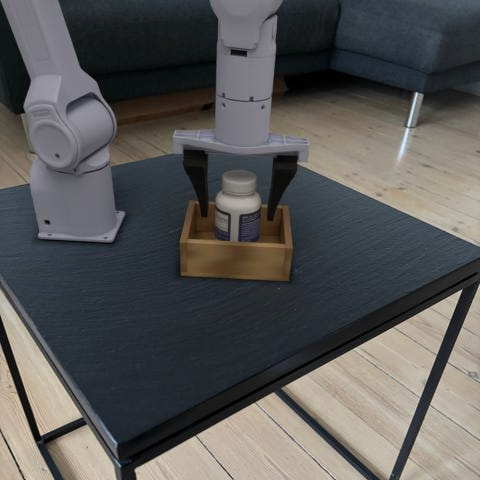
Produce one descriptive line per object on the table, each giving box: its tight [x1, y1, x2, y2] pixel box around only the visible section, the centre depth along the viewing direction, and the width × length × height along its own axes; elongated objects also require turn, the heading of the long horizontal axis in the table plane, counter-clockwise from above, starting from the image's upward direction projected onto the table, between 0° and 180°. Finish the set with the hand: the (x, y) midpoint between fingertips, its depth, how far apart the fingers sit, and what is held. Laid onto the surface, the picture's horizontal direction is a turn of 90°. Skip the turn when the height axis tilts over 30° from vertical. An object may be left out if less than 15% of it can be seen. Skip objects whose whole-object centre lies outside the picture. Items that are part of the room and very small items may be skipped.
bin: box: [179, 199, 294, 282], centre depth 63 cm, size 13×11×4 cm
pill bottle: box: [214, 169, 262, 243], centre depth 61 cm, size 5×5×10 cm
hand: (237, 215), depth 61 cm, fingers open, 7 cm apart
